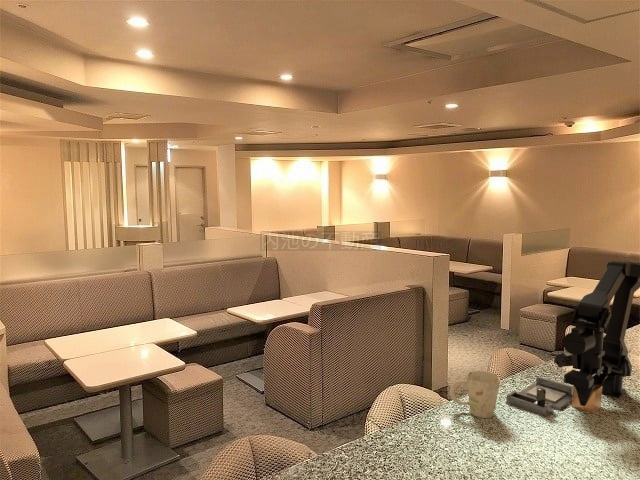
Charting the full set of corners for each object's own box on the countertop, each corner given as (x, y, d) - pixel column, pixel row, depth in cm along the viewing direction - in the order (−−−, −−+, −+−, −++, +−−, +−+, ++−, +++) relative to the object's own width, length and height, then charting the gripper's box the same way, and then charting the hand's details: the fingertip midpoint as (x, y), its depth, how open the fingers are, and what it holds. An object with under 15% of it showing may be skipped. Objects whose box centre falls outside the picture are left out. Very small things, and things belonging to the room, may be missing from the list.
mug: (500, 421, 127) (502, 384, 126) (450, 417, 130) (451, 380, 129) (496, 407, 135) (497, 372, 134) (448, 403, 138) (449, 368, 137)
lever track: (513, 398, 141) (513, 390, 141) (552, 411, 133) (553, 403, 133) (506, 402, 138) (506, 394, 138) (546, 416, 130) (546, 408, 130)
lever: (536, 404, 135) (537, 386, 135) (547, 407, 133) (548, 389, 133) (533, 406, 134) (534, 388, 133) (543, 410, 132) (544, 392, 131)
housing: (579, 400, 140) (581, 378, 139) (600, 407, 136) (602, 384, 135) (571, 406, 136) (573, 383, 136) (593, 413, 132) (595, 390, 132)
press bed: (534, 385, 150) (534, 375, 150) (575, 398, 141) (576, 387, 141) (517, 396, 143) (517, 385, 142) (560, 410, 134) (560, 398, 134)
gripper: (572, 333, 146) (569, 384, 148) (545, 347, 134) (542, 402, 136) (614, 342, 138) (610, 396, 140) (589, 357, 126) (585, 416, 127)
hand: (586, 402), depth 136 cm, fingers closed on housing, 5 cm apart
